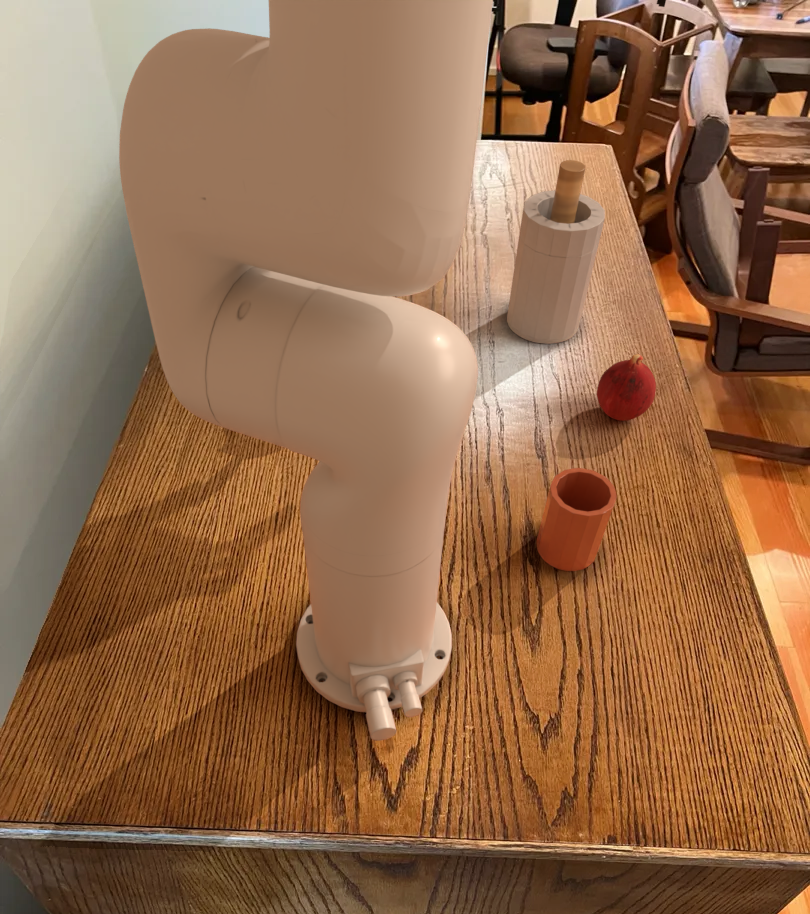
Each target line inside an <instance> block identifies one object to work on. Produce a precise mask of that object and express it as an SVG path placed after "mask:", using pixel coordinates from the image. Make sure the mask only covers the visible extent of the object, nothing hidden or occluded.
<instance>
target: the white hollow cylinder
mask: <svg viewBox="0 0 810 914" xmlns="http://www.w3.org/2000/svg"><path fill="white" fill-rule="evenodd" d="M554 195H555V189H553V190H543V191H539V192H537V193H535V194H532V195H530V197H528V198H527V199H526V200H525V201H524V203H523V208H522V215H521V221H520V227H519V228H520V229H519V235H518V241H517V248H516V254H515V261H514V268H513V275H512V279H511V280H512V282H511V287H510V295H509V301H508V309H507V313H506V323H507V325H508V327H509V329H510V330H511V332H513V333H514V334H515V335H517V336H518V337H520V338H522V339H523V340H526V341H529V342H533V343H536V344H544V345H545V344H546V345H547V344H549V345H551V344H559V343H563V342H566V341H568V340H570V339H572V338H573V337H575V335H576V334H577V333H578V330H579V327H580V325H581V320H582V316H583V311H584V307H585V303H586V300H587V295H588V291H589V287H590V282H591V278H592V274H593V270H594V265H595V261H596V258H597V253H598V248H599V244H600V240H601V236H602V233H603V228H604V224H605V220H606V210H605V208H604V207H603V206H602V205H601V204H600V202H598V201H597V200H595V199H593V198H591V197H590V196H588V195H585V194H582V193H580V197H579V202H578V207H577V211H576V216H575V221H574V223H571V224H566V223H557V222H554V221H551V220H550V217H551V212H552V206H553V200H554Z"/></svg>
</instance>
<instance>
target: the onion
mask: <svg viewBox="0 0 810 914" xmlns="http://www.w3.org/2000/svg"><path fill="white" fill-rule="evenodd" d="M643 361H644V357H643V355H641V354H640V353H636V354H632V356H631V358H629V359H625V360H620V361H618V362H615V363H613V364H612V365H611V366H609V367H608V368H607V369H606V370H605V371H604V372H603V373H602V375H601V377H600V379H599V381H598V385H597V388H596V398H597V402H598V404H599V407H600V408H601V410H602V411H603V413H605V415H606V416H608V417H609V418H611V419H613V420H617V421H620V422H621V421H631V420H634V419H637V418H638V417H640V416H642V415H643V414H645V413H646V412H647V411H648V410H649V409H650V408H651V406H652V404H654V401H655V398H656V390H657V382H656V379H655V376H654V374H653V371H652V370H651V368H649V366H648V365H646V364H645V363H643Z"/></svg>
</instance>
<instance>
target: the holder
mask: <svg viewBox="0 0 810 914" xmlns="http://www.w3.org/2000/svg"><path fill="white" fill-rule="evenodd" d="M617 499H618V497H617V491H616V487H615V485H614V484H613V483H612V482H611V481H610V480H609V478H608V477H606V476H605V475H603V474H601V473H599V472H597V471H595V470H593V469H588V468H582V467H574V468H573V467H572V468H567V469H564V470H562V471H561V472H559V473H557V474H555V476H554V477H553V478H552V481H551V483H550V485H549V489H548V492H547V497H546V501H545V505H544V509H543V513H542V517H541V521H540V525H539V529H538V533H537V537H536V541H535V543H536V549H537V553H538V554H539V556H540V557H541V559H542V560H543V561H544V562H545V563H546V564H547V565H548V566H551V567H553V568H555V569H557V570H561V571H565V572H576V571H581V570H585V569H586V568H589V566H591V565H592V564H593V563H594V562H595V560H596V558H597V555H598V552H599V549H600V547H601V544H602V541H603V538H604V535H605V532H606V530H607V528H608V524H609V521H610V518H611V515H612V513H613V510H614V507H615V504H616V502H617Z"/></svg>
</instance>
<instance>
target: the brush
mask: <svg viewBox="0 0 810 914" xmlns="http://www.w3.org/2000/svg"><path fill="white" fill-rule="evenodd" d="M585 172H586V165H585V163H583V162H581V161H578V160H575V159H568V160H563V161H561V162H560V164H559V168H558V173H557V179H556V185H555V189H554V190H555V195H554V200H553V206H552V212H551V217H550V220H551V221H554V222H557V223H566V224H571V223H574V221H575V216H576V211H577V207H578V202H579V197H580V194H581V191H582V188H583V187H582V186H583V182H584V177H585Z"/></svg>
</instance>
